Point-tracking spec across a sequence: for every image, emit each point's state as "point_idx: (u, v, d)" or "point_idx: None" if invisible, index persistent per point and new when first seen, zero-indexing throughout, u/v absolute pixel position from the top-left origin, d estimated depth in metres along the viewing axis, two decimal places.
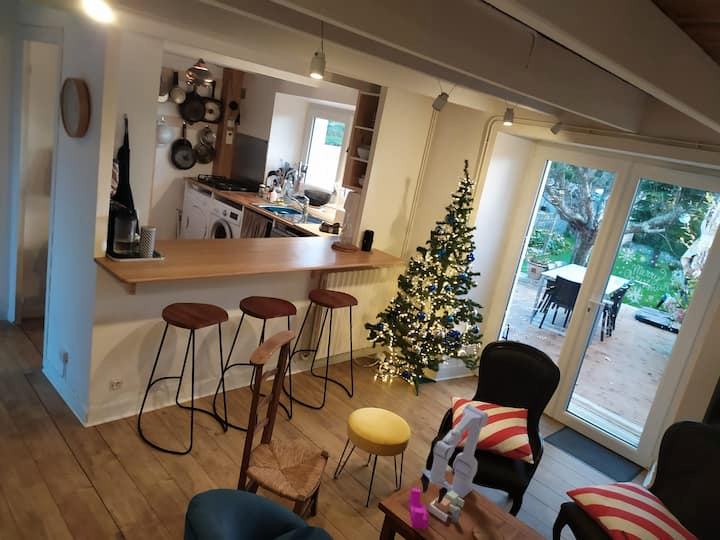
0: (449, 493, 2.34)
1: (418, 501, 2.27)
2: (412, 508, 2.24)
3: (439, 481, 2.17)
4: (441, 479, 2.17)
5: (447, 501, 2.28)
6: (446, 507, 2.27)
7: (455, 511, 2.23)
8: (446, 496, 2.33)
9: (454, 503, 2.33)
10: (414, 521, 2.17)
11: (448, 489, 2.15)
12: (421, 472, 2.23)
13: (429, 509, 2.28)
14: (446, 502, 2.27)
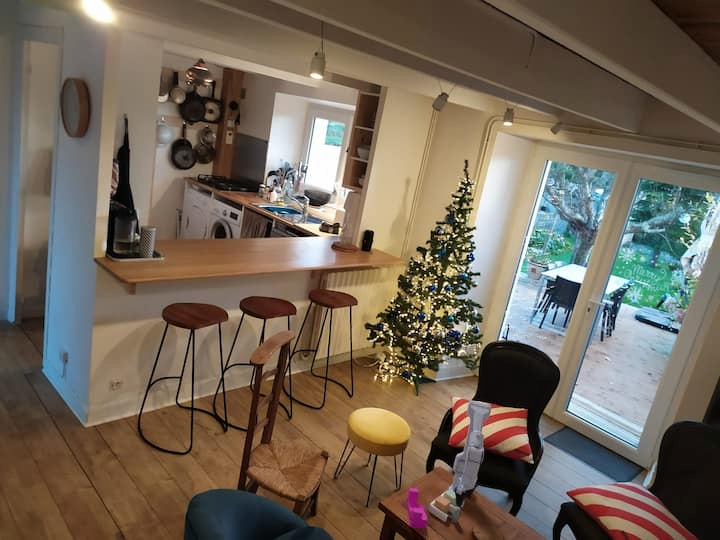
0: (449, 493, 2.34)
1: (416, 501, 2.27)
2: (410, 508, 2.24)
3: (461, 481, 2.20)
4: (463, 481, 2.19)
5: (447, 501, 2.28)
6: (446, 507, 2.27)
7: (455, 511, 2.23)
8: (446, 496, 2.33)
9: (454, 503, 2.33)
10: (413, 521, 2.16)
11: None
12: None
13: (429, 509, 2.28)
14: (446, 502, 2.27)
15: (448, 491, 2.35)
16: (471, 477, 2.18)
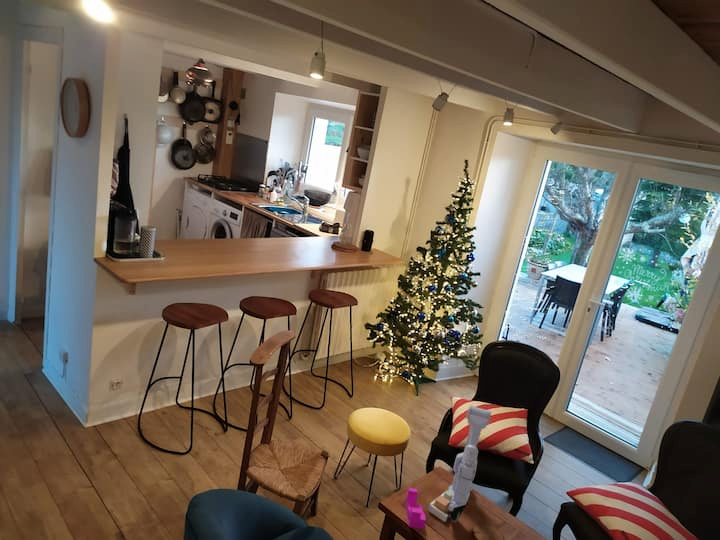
0: (449, 493, 2.34)
1: (415, 501, 2.27)
2: (409, 508, 2.24)
3: (454, 498, 2.22)
4: (455, 497, 2.21)
5: (447, 501, 2.28)
6: (446, 507, 2.27)
7: None
8: (446, 496, 2.33)
9: None
10: (411, 521, 2.16)
11: None
12: None
13: (429, 509, 2.28)
14: (446, 502, 2.27)
15: (448, 491, 2.35)
16: (463, 494, 2.19)
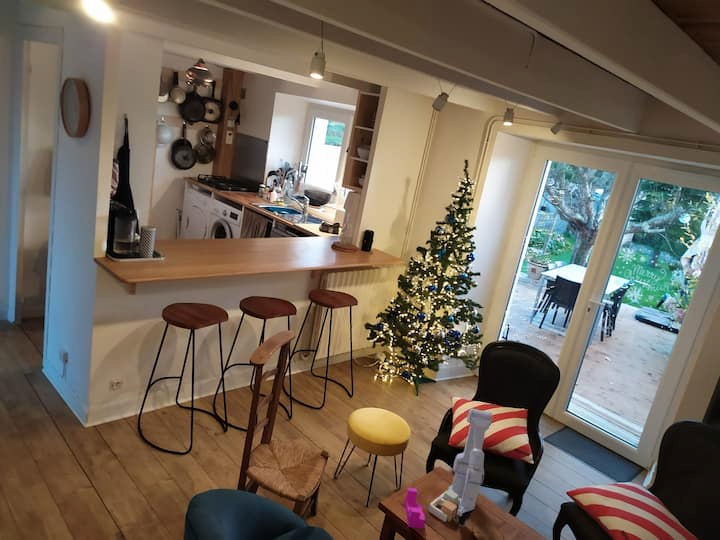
0: (449, 493, 2.34)
1: (414, 501, 2.27)
2: (408, 508, 2.24)
3: (461, 502, 2.19)
4: (463, 502, 2.18)
5: (454, 506, 2.26)
6: (453, 512, 2.24)
7: None
8: (446, 496, 2.33)
9: (454, 503, 2.33)
10: (410, 521, 2.16)
11: None
12: None
13: (429, 509, 2.28)
14: (453, 507, 2.25)
15: (448, 491, 2.35)
16: (471, 498, 2.17)
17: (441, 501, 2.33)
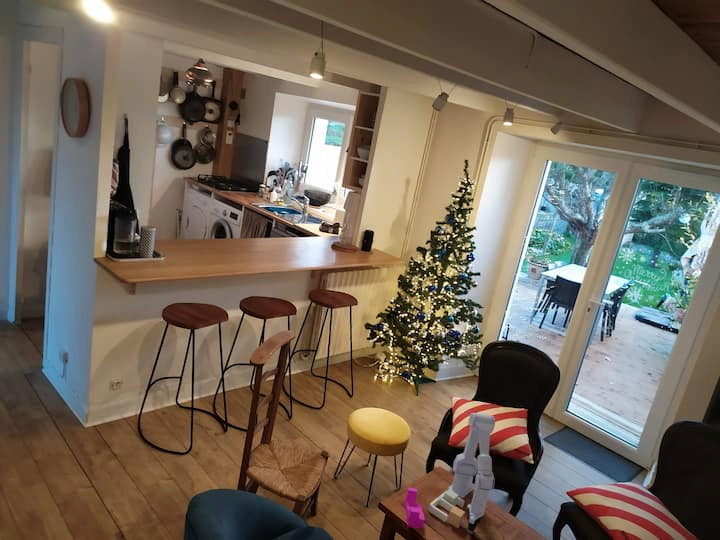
0: (449, 493, 2.34)
1: (414, 500, 2.27)
2: (408, 507, 2.24)
3: (472, 509, 2.16)
4: (473, 509, 2.15)
5: (462, 512, 2.23)
6: (461, 518, 2.21)
7: None
8: (446, 496, 2.33)
9: (454, 503, 2.33)
10: (410, 520, 2.16)
11: None
12: None
13: (429, 509, 2.28)
14: (461, 513, 2.22)
15: (448, 491, 2.35)
16: (482, 504, 2.14)
17: (441, 501, 2.33)
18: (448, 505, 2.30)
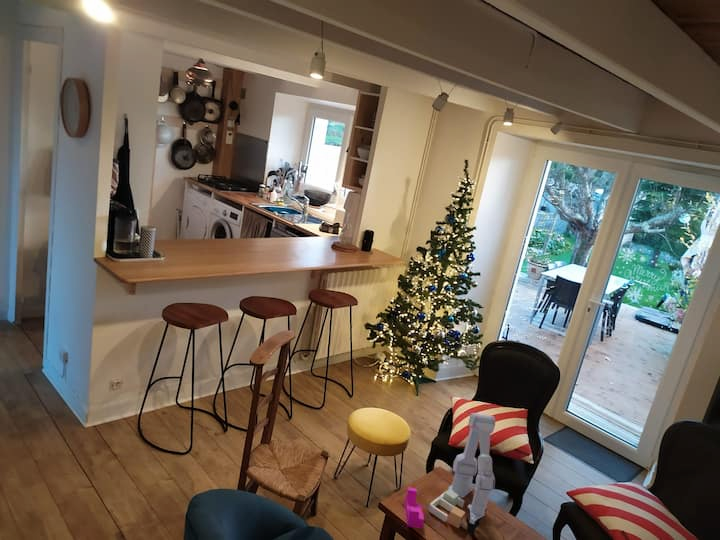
0: (449, 493, 2.34)
1: (414, 500, 2.27)
2: (408, 507, 2.24)
3: (472, 510, 2.16)
4: (474, 509, 2.15)
5: (462, 512, 2.23)
6: (462, 518, 2.21)
7: None
8: (446, 496, 2.33)
9: (454, 503, 2.33)
10: (409, 520, 2.17)
11: (470, 519, 2.12)
12: None
13: (429, 509, 2.28)
14: (461, 513, 2.22)
15: (448, 491, 2.35)
16: (483, 505, 2.14)
17: (441, 501, 2.33)
18: (448, 505, 2.30)
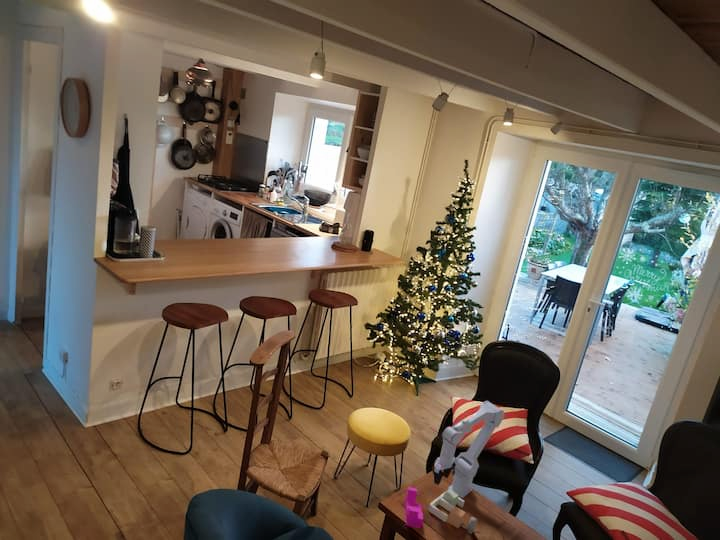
0: (449, 493, 2.34)
1: (414, 500, 2.27)
2: (408, 507, 2.24)
3: (439, 461, 2.31)
4: (441, 460, 2.30)
5: (462, 512, 2.23)
6: (462, 518, 2.21)
7: (472, 522, 2.18)
8: (446, 496, 2.33)
9: (454, 503, 2.33)
10: (408, 520, 2.17)
11: None
12: None
13: (429, 509, 2.28)
14: (461, 513, 2.22)
15: (448, 491, 2.35)
16: (448, 457, 2.28)
17: (441, 501, 2.33)
18: (448, 505, 2.30)
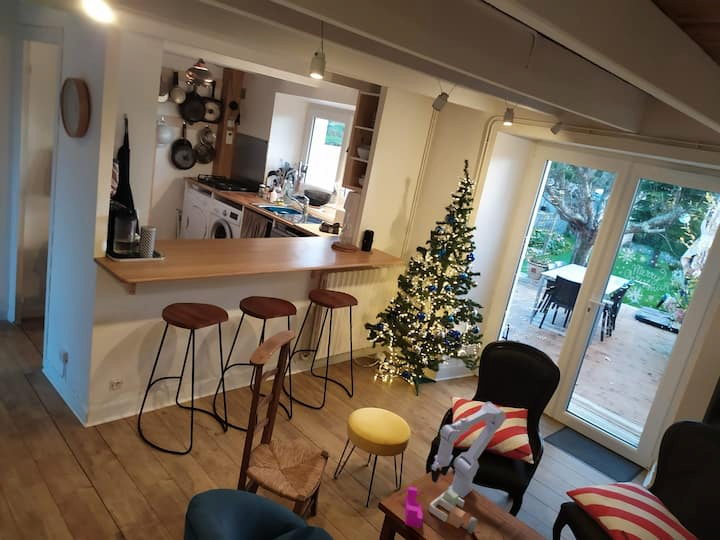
0: (449, 493, 2.34)
1: (414, 500, 2.27)
2: (407, 506, 2.24)
3: (437, 459, 2.32)
4: (438, 458, 2.31)
5: (462, 512, 2.23)
6: (462, 518, 2.21)
7: (472, 522, 2.18)
8: (446, 496, 2.33)
9: (454, 503, 2.33)
10: (408, 519, 2.17)
11: None
12: None
13: (429, 509, 2.28)
14: (461, 513, 2.22)
15: (448, 491, 2.35)
16: (446, 455, 2.29)
17: (441, 501, 2.33)
18: (448, 505, 2.30)
